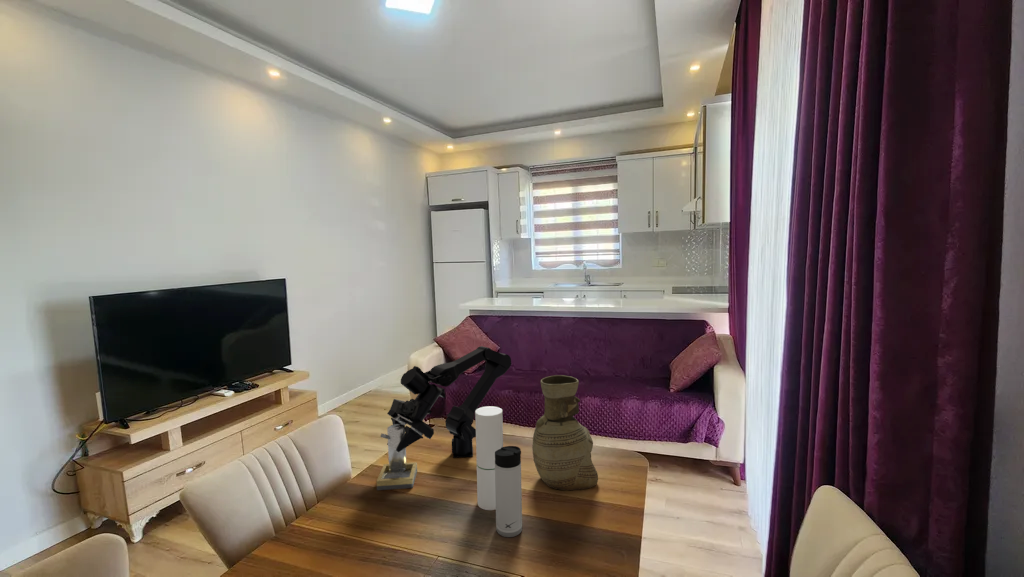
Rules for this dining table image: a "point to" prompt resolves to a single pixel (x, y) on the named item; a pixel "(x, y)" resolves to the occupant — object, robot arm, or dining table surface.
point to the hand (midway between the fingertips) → (392, 448)
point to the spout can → (395, 458)
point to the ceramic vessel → (563, 438)
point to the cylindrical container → (487, 453)
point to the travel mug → (508, 491)
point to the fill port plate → (397, 477)
